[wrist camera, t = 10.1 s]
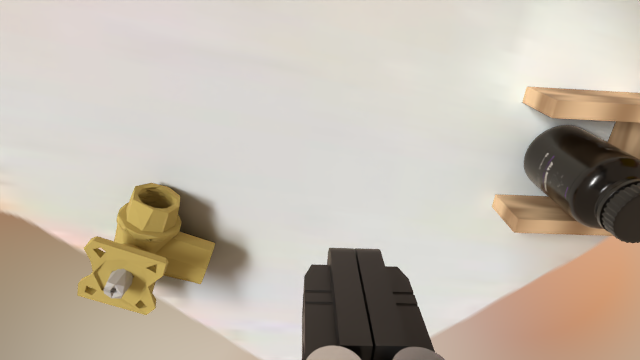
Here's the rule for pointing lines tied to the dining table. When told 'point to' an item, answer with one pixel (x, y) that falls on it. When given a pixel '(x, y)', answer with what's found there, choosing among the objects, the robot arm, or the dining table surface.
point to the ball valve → (144, 252)
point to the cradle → (623, 107)
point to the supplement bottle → (588, 179)
